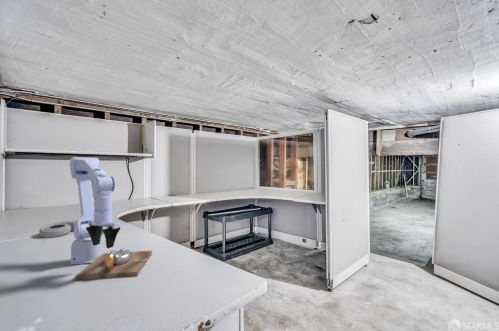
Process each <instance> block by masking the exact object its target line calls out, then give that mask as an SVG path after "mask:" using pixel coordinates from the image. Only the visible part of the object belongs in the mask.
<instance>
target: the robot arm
mask: <svg viewBox="0 0 499 331" xmlns="http://www.w3.org/2000/svg"><path fill="white" fill-rule="evenodd" d="M69 168H70V175H71V178H72V179H74V180H76V184H77V190H78V196H79V197H78V198H79V205H80V207H79V208H80V214H81V216H80V217H79V218H77V219H76V220H74V221H75V223H74V231H73V236H74V239H75V240H73V241H72V243H71V246H70V263H69V265H83V264H91V263H92V262H93V261H94V260H96V259H97V258H98V257H99V256H101V255H102V254H101V251H100V250H101V246H100V244H101V240H102V239H101V238H102V236H103V235H104V239H105V245H106V246H105V247H106V249H110V248H114V246H115V242H116V239H117V236H118V234H119V231H120V230H121V227H120V222H118V221H115V220H113V192H114V190H115V188H116V183H115V178H114V176H111V175H110V176H108V174H106V172H105V171H104V170H103V168H101V167H100V160H99V158H98V157H95V156H94V157H83V156H82V157H80V156H72V157H71V158H70V160H69Z"/></svg>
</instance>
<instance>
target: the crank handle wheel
mask: <svg viewBox="0 0 499 331" xmlns="http://www.w3.org/2000/svg"><path fill="white" fill-rule="evenodd" d="M124 249H125V248H120V249H119V250H117V251H116V250H110V251H109V254H106V255H105V270H111V269H113V265H120V264H124V263H126V262H128V261H129V260H130V252H131V251H130V249H125V250H124Z"/></svg>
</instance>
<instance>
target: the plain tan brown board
mask: <svg viewBox="0 0 499 331" xmlns="http://www.w3.org/2000/svg"><path fill="white" fill-rule="evenodd" d="M129 252H130V260H129V261H128V262H126V263H124V264H120V265H113V269H111V270H105V255H106V254H109V253H110V252H109V253H108V252H107V253H102V254H100V255H101V256H99V257H98V258H97V259H96V260H94V261H93V262H92V263H88V265H87V266H86V267H84V268H83V269H82V270H81V271H80V272H77V274H76V275H75V276H74V281H87V280H99V279H100V280H102V279H117V278H124V277H125V278H127V277H128V278H129V277H138V276H139V274H140V273H141V272H142V269H143V268H144V267H145V265H146V263H147V262H148V261H149V260H150V258H151V256H152V254H153V251H152V250H142V251H140V250H139V251H129Z"/></svg>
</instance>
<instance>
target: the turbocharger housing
mask: <svg viewBox="0 0 499 331" xmlns="http://www.w3.org/2000/svg"><path fill="white" fill-rule="evenodd" d="M75 221H76V220H67V221H66V220H65V221H59V222H53V223H49V224H46V225H44V226H41V228H40V229H39V233H38V234H39V237H40V238H42V237H44V238H43V239H49V238H57V237H61V236H65V235H68V234H69V233H70V232H74V223H75Z"/></svg>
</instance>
